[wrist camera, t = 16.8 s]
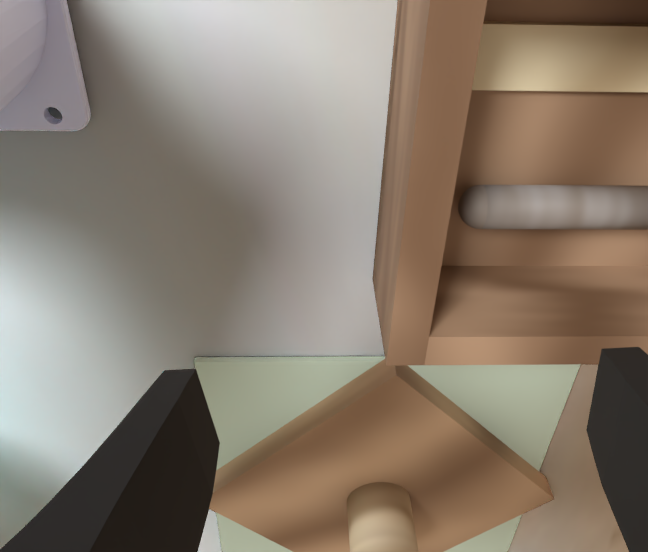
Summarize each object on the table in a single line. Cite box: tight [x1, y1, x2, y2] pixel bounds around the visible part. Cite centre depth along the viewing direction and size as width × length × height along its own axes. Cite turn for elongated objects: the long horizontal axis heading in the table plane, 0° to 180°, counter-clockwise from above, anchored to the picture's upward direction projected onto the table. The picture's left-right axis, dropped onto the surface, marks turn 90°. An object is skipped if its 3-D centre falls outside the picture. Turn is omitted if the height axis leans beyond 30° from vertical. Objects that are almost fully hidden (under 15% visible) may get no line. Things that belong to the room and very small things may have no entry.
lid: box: [209, 359, 554, 552], centre depth 28 cm, size 12×12×4 cm
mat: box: [194, 356, 581, 552], centre depth 30 cm, size 16×16×1 cm
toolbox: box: [373, 0, 648, 366], centre depth 17 cm, size 12×12×4 cm
